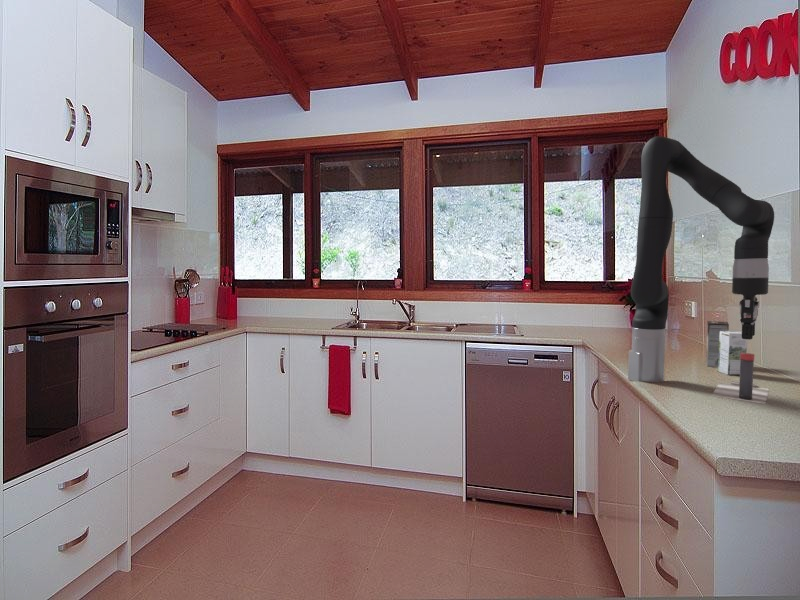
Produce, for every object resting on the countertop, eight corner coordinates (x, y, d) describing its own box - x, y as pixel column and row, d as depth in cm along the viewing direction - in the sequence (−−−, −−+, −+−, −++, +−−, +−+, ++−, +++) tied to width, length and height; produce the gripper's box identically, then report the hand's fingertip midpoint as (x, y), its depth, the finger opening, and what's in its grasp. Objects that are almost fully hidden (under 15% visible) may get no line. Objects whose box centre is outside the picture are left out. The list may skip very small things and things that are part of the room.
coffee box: (705, 362, 174) (707, 320, 173) (725, 363, 171) (727, 321, 170) (706, 366, 166) (708, 323, 165) (728, 368, 163) (729, 324, 162)
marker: (744, 400, 119) (746, 355, 118) (735, 396, 122) (737, 353, 121) (755, 399, 119) (757, 354, 118) (746, 396, 122) (748, 352, 121)
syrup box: (734, 371, 157) (736, 330, 156) (746, 375, 151) (747, 332, 150) (717, 371, 158) (718, 330, 157) (727, 375, 152) (729, 332, 151)
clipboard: (771, 409, 114) (771, 403, 114) (705, 399, 123) (705, 394, 123) (774, 391, 131) (774, 386, 131) (715, 384, 140) (715, 379, 140)
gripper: (767, 276, 111) (765, 341, 112) (769, 275, 122) (767, 335, 123) (729, 276, 116) (727, 339, 117) (735, 276, 127) (733, 333, 128)
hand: (748, 337), depth 120 cm, fingers open, 8 cm apart
